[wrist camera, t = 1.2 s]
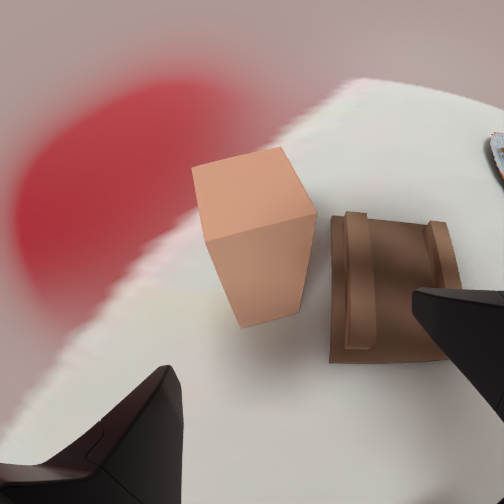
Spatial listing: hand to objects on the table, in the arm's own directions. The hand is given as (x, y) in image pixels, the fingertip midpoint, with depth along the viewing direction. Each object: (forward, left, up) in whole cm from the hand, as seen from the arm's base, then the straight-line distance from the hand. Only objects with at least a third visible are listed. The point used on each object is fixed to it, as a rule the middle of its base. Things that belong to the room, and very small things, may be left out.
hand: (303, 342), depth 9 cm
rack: (+10, -8, -13) cm, 19 cm away
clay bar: (+6, +4, -13) cm, 15 cm away
